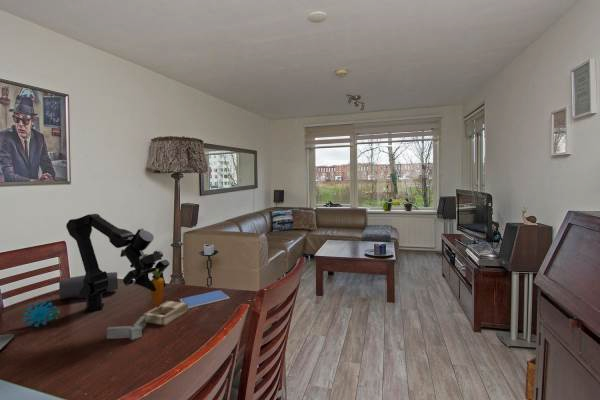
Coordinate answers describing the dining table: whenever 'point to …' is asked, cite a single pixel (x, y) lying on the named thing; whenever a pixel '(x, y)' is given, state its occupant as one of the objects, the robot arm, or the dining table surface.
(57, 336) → the dining table surface
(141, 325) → the v-block
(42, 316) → the gear
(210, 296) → the tablet computer
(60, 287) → the bluetooth speaker
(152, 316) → the socket block
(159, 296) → the carrot
